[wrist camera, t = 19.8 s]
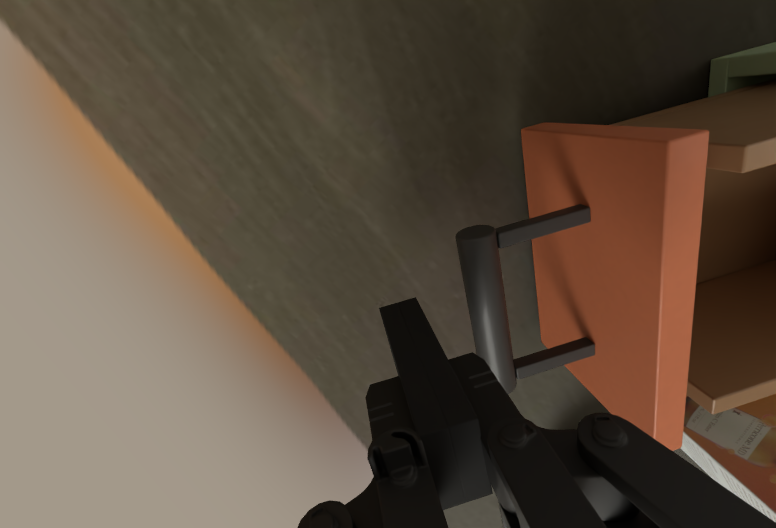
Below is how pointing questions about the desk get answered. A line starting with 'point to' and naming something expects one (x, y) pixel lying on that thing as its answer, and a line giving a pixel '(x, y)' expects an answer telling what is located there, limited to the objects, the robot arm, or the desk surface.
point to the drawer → (645, 259)
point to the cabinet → (742, 69)
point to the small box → (736, 449)
